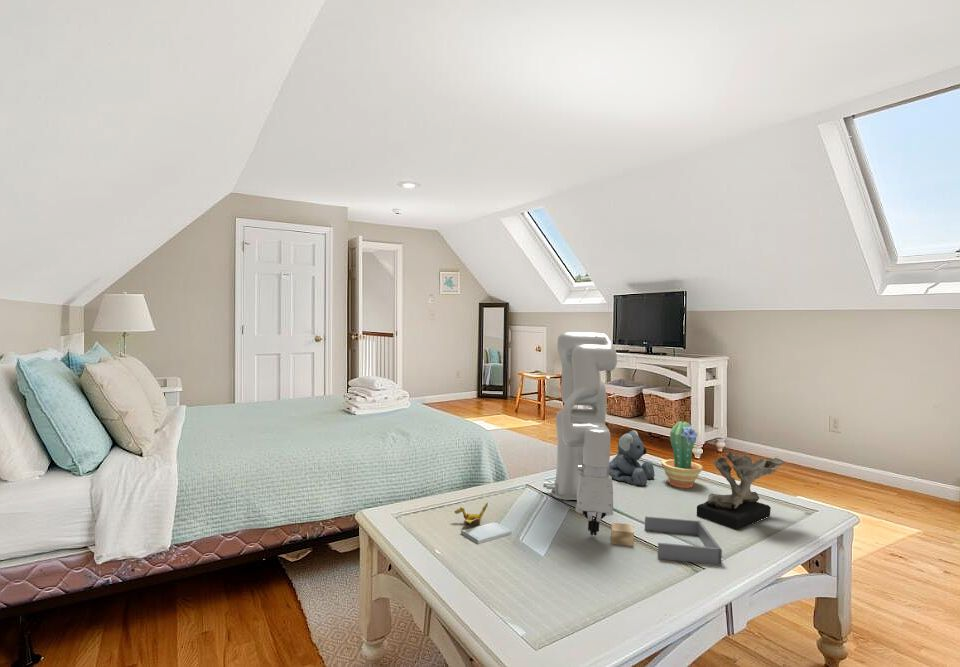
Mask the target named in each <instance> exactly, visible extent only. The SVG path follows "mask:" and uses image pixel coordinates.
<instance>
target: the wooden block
mask: <svg viewBox="0 0 960 667" xmlns="http://www.w3.org/2000/svg"><path fill="white" fill-rule="evenodd" d="M610 535H611V536H610V540H611V541H610V542H611V544H613V545H620V546H628V547H629V546H630V547H634V542H635V529H634V524H628V523H620V522H611V534H610Z"/></svg>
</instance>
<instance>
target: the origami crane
mask: <svg viewBox="0 0 960 667" xmlns="http://www.w3.org/2000/svg"><path fill="white" fill-rule="evenodd" d="M488 505H489V504H488V502H486V503H485V505H484V506H483V507H482V509H481V511H480V512H479V514H478V513H468V512H466V510H465V507H461V506H460V507H459V508H457V509H456V510H454V514H456V515H458V514H461V513H462V515H463V518H464V522H465V525H466V526H469V524H470V525H471V524H472V522H474V521H476V522H477V523H476V524H477V526H481V525H480V523H481V519H482V517H483V515H484V513H485V512H486V510H487V508H488Z"/></svg>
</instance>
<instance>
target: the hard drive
mask: <svg viewBox="0 0 960 667" xmlns="http://www.w3.org/2000/svg"><path fill="white" fill-rule="evenodd" d="M460 534H461V535H462V536H464V537H466V538H468V539H469V540H471V541H472V542H474V543H476V544H477V545H479V544H482V543H486V542H490V541H493V540H496V539H499V538H503V537H506V536H510V535H512V530H511V529H509V528H507V527H505V526H503V525H502V524H500V523H497V522H495V521H493V522H490V523H486V524H485V523H484V524H482V525H477V526H474V527H470V528H468V529H462V530H460Z"/></svg>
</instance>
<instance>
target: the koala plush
mask: <svg viewBox="0 0 960 667" xmlns="http://www.w3.org/2000/svg"><path fill="white" fill-rule="evenodd" d="M617 445H618V446H617V454H616V455H615V456H614V457H613V459H612V460H610V461H609V475H610V476H611V477H612V480H615V481H618V482H619V481H620V482H624V483H625V482H626V483H628V484H630V485H634V486H641V487H642V486H644V485H646V484H647V483H648V480H651V479H654V478H655V468H654V465H653V462H652V461H647V460H646V461H644V462H642V464H640V462H639V461H638V460H640V459H641V458H642V457H643V456H644V455H645V456H646V454H647V451H648V450H647V447H645V444H644V443H643V441H642V439H641V438H640V437H639V434H638V432H637V430H631V431H629V432H626V433H624V434H622V436H620V437H619V439H618V443H617Z"/></svg>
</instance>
